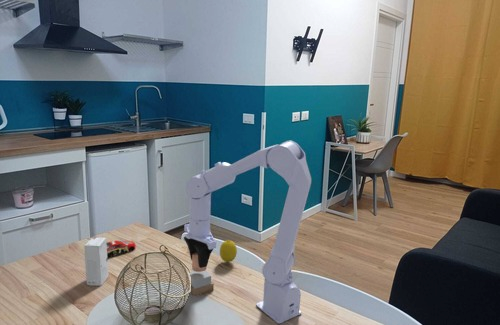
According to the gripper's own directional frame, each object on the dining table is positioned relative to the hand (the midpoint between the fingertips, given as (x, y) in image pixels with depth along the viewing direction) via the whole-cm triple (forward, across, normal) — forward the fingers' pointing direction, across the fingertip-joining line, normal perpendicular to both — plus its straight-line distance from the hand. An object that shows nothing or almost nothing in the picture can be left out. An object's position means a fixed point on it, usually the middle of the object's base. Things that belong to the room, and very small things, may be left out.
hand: (199, 263), depth 103 cm
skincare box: (+8, -20, -22) cm, 31 cm away
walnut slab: (+8, 0, 0) cm, 8 cm away
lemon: (+8, -8, +16) cm, 19 cm away
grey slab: (+6, 0, 0) cm, 6 cm away
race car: (+8, -35, -12) cm, 38 cm away
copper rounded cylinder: (+2, 0, 0) cm, 2 cm away
